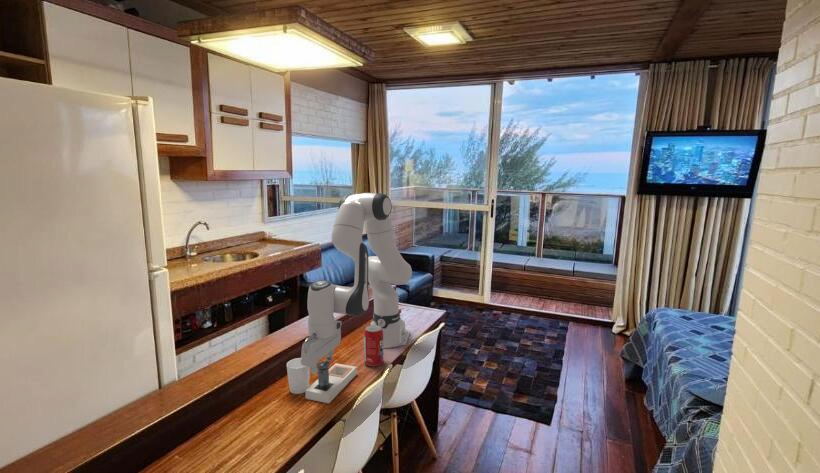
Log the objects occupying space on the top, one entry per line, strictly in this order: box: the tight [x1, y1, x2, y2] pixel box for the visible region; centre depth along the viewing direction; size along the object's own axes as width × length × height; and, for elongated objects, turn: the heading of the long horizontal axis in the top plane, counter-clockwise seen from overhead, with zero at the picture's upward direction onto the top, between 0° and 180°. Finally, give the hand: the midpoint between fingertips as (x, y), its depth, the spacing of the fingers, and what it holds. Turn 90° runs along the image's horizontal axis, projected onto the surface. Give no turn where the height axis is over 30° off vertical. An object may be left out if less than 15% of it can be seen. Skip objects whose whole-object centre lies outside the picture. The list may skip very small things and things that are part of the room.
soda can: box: [363, 324, 385, 367], centre depth 164 cm, size 8×8×15 cm
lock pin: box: [316, 360, 331, 391], centre depth 141 cm, size 4×4×11 cm
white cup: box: [286, 357, 311, 395], centre depth 144 cm, size 8×8×10 cm
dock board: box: [305, 362, 358, 404], centre depth 147 cm, size 21×9×3 cm, turn 161°
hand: (322, 367), depth 140 cm, fingers open, 8 cm apart
